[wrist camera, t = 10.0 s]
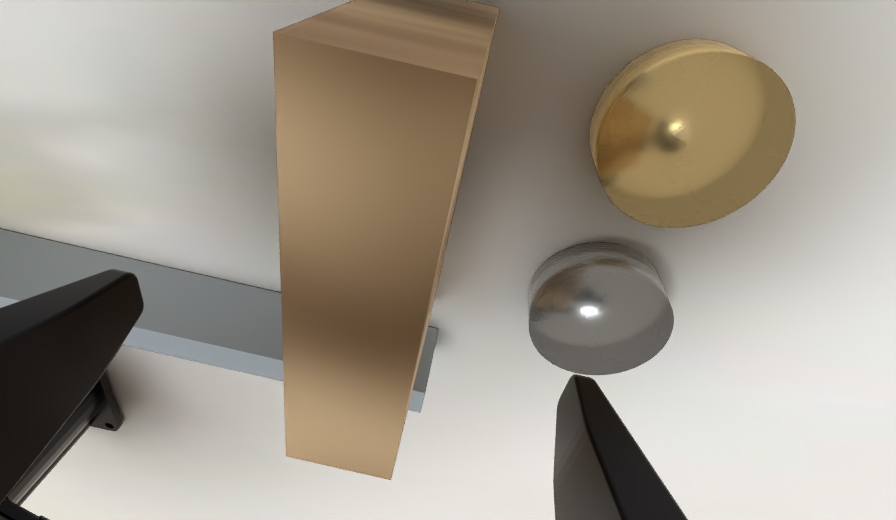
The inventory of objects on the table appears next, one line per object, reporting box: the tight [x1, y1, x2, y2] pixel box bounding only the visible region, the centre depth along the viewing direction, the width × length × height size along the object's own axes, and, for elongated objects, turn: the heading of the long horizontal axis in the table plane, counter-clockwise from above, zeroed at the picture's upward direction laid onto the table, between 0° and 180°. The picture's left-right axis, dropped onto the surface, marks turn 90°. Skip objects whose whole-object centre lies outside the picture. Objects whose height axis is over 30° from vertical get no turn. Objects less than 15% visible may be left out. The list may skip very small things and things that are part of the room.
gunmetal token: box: [528, 242, 674, 375], centre depth 18 cm, size 5×5×2 cm
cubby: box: [0, 229, 438, 412], centre depth 15 cm, size 16×22×4 cm
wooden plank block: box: [273, 0, 499, 480], centre depth 13 cm, size 11×3×8 cm, turn 170°
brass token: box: [590, 39, 796, 228], centre depth 14 cm, size 5×5×2 cm
